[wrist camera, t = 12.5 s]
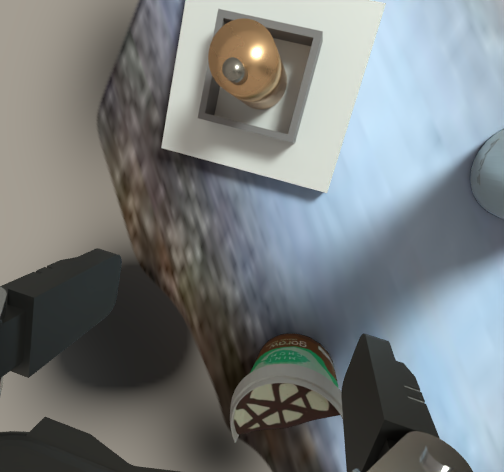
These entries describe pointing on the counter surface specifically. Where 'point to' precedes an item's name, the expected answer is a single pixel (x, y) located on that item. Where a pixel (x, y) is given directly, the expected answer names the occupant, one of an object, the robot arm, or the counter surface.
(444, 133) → the counter surface
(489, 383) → the counter surface
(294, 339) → the food container
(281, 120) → the white board with frame
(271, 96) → the spout can
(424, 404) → the robot arm
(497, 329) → the counter surface
